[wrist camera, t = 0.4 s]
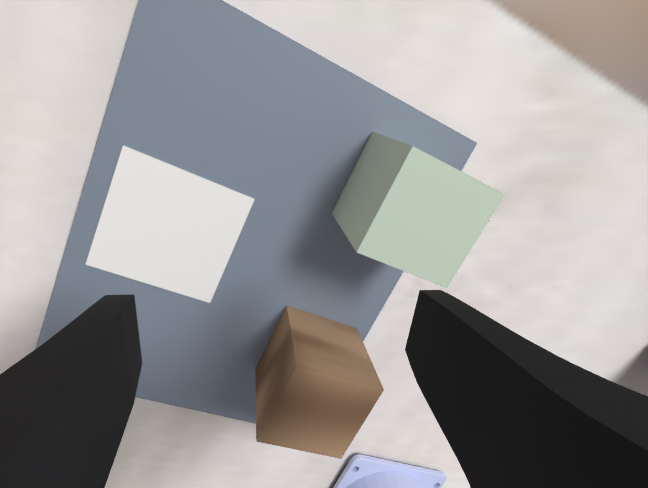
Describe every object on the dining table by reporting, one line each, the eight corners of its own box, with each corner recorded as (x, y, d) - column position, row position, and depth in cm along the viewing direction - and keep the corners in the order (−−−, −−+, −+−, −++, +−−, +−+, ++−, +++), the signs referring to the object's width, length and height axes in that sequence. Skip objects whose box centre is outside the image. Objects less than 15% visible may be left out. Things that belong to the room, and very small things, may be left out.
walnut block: (323, 386, 24) (341, 458, 19) (255, 368, 22) (256, 441, 18) (356, 328, 22) (383, 389, 18) (286, 305, 21) (296, 365, 16)
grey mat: (307, 427, 25) (309, 436, 25) (34, 365, 20) (27, 374, 20) (470, 141, 20) (478, 143, 19) (154, -36, 15) (149, -41, 14)
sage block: (403, 244, 21) (446, 288, 16) (331, 213, 20) (356, 252, 15) (446, 169, 20) (505, 194, 15) (372, 131, 18) (413, 146, 14)
